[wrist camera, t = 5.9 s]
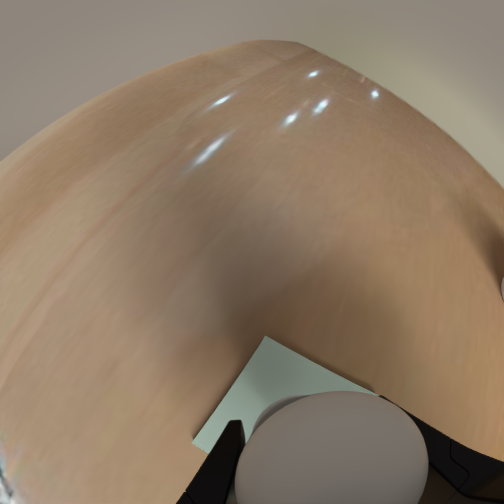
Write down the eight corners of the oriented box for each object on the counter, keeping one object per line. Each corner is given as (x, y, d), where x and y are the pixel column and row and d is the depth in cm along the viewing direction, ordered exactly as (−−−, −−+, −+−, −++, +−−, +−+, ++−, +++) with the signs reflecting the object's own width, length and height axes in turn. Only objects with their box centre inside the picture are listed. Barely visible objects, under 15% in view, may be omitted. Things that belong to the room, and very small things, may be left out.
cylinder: (350, 416, 14) (502, 420, 3) (307, 481, 12) (378, 604, 1) (281, 381, 15) (313, 330, 4) (237, 446, 13) (162, 536, 3)
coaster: (376, 395, 18) (379, 395, 18) (308, 503, 14) (309, 505, 14) (265, 337, 21) (265, 335, 21) (193, 441, 17) (191, 442, 17)
